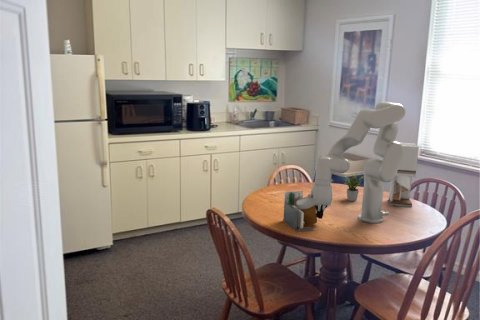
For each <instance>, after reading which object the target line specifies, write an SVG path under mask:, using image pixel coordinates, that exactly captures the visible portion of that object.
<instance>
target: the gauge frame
mask: <svg viewBox="0 0 480 320" xmlns="http://www.w3.org/2000/svg"><path fill="white" fill-rule="evenodd" d="M292 193H294V194H295V197H294V206H296V202H297V201H298V200H299V199H301V198H304V196H303V195H304V194H303V193H304V191H303V190H295V191H284V198H283V201H284V202H283V219H282V221H284V223H285V224H286V225H287V226H288V227H290V228H291V229H292V230H293V231H294V232H296V231H297V232H309V231H314V227H313V226H312V227H311V226H310V227H303V228H299V227H298V226H297V212H298V210H297V209H295V208H294V207H293V206H292ZM296 207H297V206H296ZM297 227H298V228H297Z"/></svg>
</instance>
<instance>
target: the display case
mask: <svg viewBox="0 0 480 320" xmlns="http://www.w3.org/2000/svg"><path fill="white" fill-rule="evenodd" d="M399 143H400V144H401V145H402V147H403V157H402V160H401V163H400V165H399V168H398V171H397V173H396V175H395V177H394V179H393V180H392V181H390V183H389V192H388V193H389V194H388V202H389V205H390V206H393V205H395V206H394V207H396V206H397V207H404V206H405V208H412V207H413V202H412V200H411V199H410V198H411V197H410V196H411V191H412V190H411V189H412V188H411V187H412V180H413V178H416V173H417V167H418V158H419V157H418V156H419V148H420V146H419V145H418V146H417V145H416V143H413V142H411V143H410V142H409V143H408V142H399Z"/></svg>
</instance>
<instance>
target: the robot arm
mask: <svg viewBox="0 0 480 320" xmlns="http://www.w3.org/2000/svg"><path fill="white" fill-rule="evenodd" d="M374 108H375V109H370V108H369V109H368V108H364V109H360V111H359V112H358V114H357V115H356V117H355V118H354V120H353V121H352V124H351V125H350V127H349V128H348V130H347V132H346V133H345V135H344V136H342V137H341V138H339V139H338V140H337V141H336V142H335V143H334V144H333V145H332V146H331V148H330V149H329V152H328V153H327V155H326V156H325V155H321V156H318V157H317V159H316V166H315V177H314V183H313V184H312V187H311V191H310V193H311V194H310V193H309V194H310V197H313V199H314V200H315V208H316V209H317V210H316V216H317V219H323V218H324V217H323V216H324V211H326V209H327V208H328V207H331V206H332V201H333V187H332V183H333V182H334V180H333V179H332V175H333V174H332V173H337V174H338V173H339V174H344V173H347V172H348V171H349V170H350V167H351V163H350V161H349V160H348V159H347V158H345V157H343V155H344V154H345V152H347V151H348V150H349V149H350V148H353V147H356V146H358V145H361V144H362V142H363V141H364V139H365V137H366V136H367V135H368V133H369V132H370V129H374V130H376V129H379V130H378V133H377V137H376V138H375V139H376V140H375V142H374V145H373V149H372V150H373V154H374V155H376V156H377V157H379V158H382V160H381V159H379V158H369V159H368V160H366V161H365V162H364V165H363V176H364V177H363V180H364V181H363V194H362V202H361V203H362V204H361V212H360V213H359V214H358V215H357V218H358V220H360V221H361V222H365V223H368V224H380V223H381V224H382V223H383V222H384V216H390V213H389V211H384V210H382V207H383V197H384V196H383V195H384V183H389V182H391V181H392V180H393V179H394V177H395V175H396V173H397V171H398V168H399V165H400V163H401V160H402V157H403V147H402V145H401V144H400V143H401V142H399V141H396V139H397V134H398V131H399V124H398V122H400V121H401V120H403V118H404V117H405V115H406V109H405V107H404V106H403V105H402V104H401V103H397V102H389V101H380V102H378V103H377V104H376V105H375V107H374Z"/></svg>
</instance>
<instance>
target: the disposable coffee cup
mask: <svg viewBox="0 0 480 320" xmlns="http://www.w3.org/2000/svg"><path fill="white" fill-rule="evenodd" d="M296 206H297V208H298V209H300V210H301V211H302V212H303V213H304V217H303V225H305V226H310V227H311V226H315V225H316V224H317V223H318V218H317V216H316V212H317V210H316V208H315V200H314V199H313V197H307V196H303V198H301V199H299V200H298V201H297V202H296Z"/></svg>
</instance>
